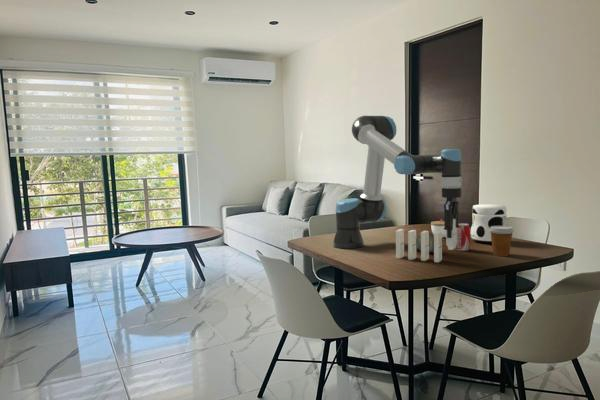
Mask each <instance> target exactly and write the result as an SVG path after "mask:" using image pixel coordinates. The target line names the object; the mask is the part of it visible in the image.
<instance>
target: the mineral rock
mask: <svg viewBox="0 0 600 400" xmlns="http://www.w3.org/2000/svg"><path fill="white" fill-rule="evenodd" d="M423 231H424V230H421V231H420V233H419V234H418V235H417V236H416V251H420V252H421V232H423ZM425 231H429V230H427V229H425ZM430 253H432V254H433V253H434V234H433V233H431V232H430V231H429V254H430Z"/></svg>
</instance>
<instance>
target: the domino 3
mask: <svg viewBox="0 0 600 400" xmlns="http://www.w3.org/2000/svg"><path fill="white" fill-rule="evenodd" d="M422 231H423V232H421V231H420V232H421V251H420V261H422V262H426V261H427V260H429V259H430V252H429V232H430V230H428V231H426V230H422Z"/></svg>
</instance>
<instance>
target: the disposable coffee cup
mask: <svg viewBox="0 0 600 400" xmlns="http://www.w3.org/2000/svg"><path fill="white" fill-rule="evenodd" d="M489 230H490V233H491V240H492V243H491V248H492V254H493V255H494V256H497V257H507V256H510V250H511V245H512V244H511V243H512V237H513V233H514V229H513V227H512V226H508V225H507V226H491V227H490V229H489Z"/></svg>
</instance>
